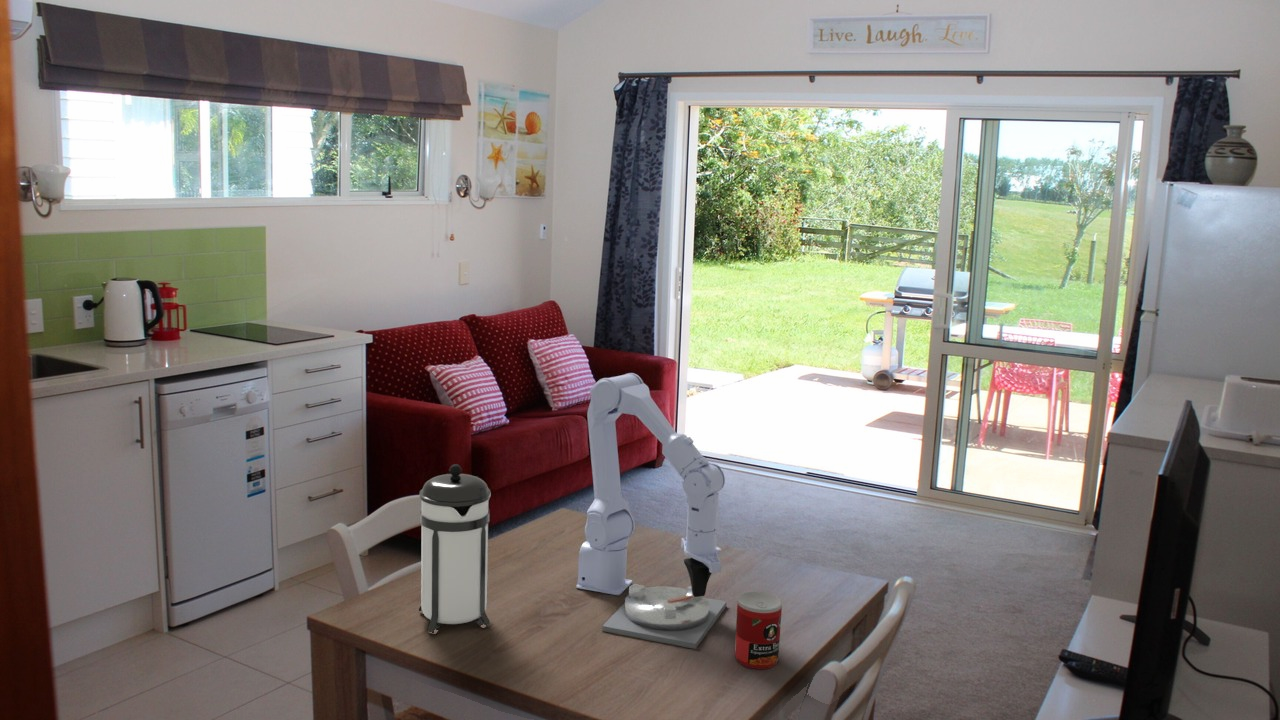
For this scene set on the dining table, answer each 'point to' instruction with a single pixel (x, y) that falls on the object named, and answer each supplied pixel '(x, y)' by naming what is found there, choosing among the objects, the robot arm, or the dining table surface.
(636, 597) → the round dial
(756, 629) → the canned food
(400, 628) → the dining table surface
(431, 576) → the coffee press
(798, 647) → the dining table surface
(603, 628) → the slate base plate
